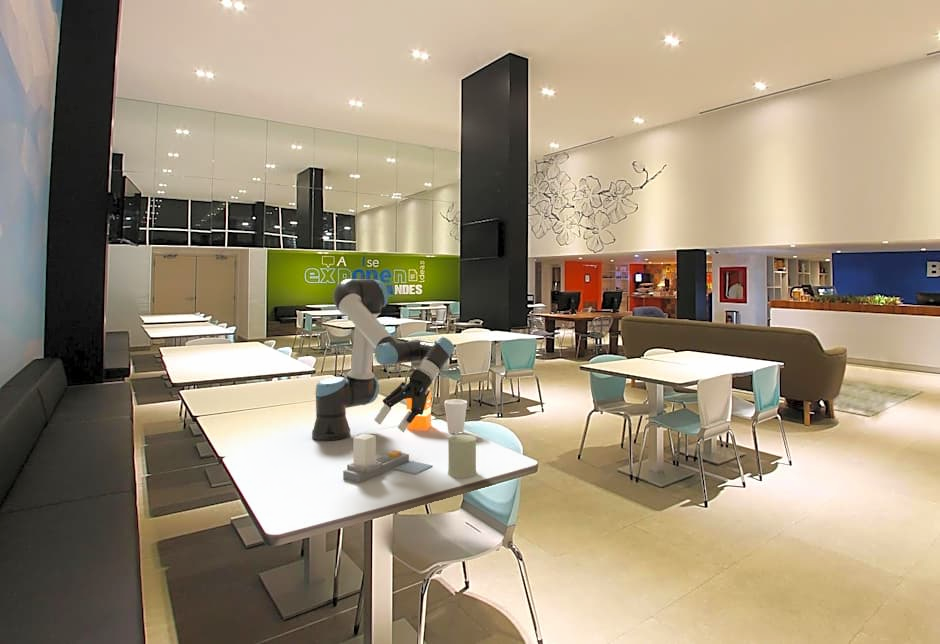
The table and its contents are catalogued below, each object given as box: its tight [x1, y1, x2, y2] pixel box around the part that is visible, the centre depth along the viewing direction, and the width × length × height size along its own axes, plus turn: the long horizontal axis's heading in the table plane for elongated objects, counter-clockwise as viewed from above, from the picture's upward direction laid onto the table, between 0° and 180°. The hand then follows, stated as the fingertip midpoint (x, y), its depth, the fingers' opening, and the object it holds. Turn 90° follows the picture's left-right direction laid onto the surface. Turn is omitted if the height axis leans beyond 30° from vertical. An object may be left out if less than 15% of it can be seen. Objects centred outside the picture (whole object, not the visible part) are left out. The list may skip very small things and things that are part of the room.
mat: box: [393, 460, 433, 475], centre depth 169 cm, size 9×9×1 cm
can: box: [447, 434, 477, 479], centre depth 164 cm, size 9×9×12 cm
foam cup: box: [444, 398, 468, 434], centre depth 213 cm, size 10×9×13 cm
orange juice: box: [406, 386, 432, 431], centre depth 221 cm, size 8×9×20 cm
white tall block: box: [352, 433, 377, 468], centre depth 162 cm, size 5×5×10 cm
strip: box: [342, 450, 410, 484], centre depth 168 cm, size 8×24×4 cm, turn 148°
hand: (388, 425), depth 167 cm, fingers open, 13 cm apart
